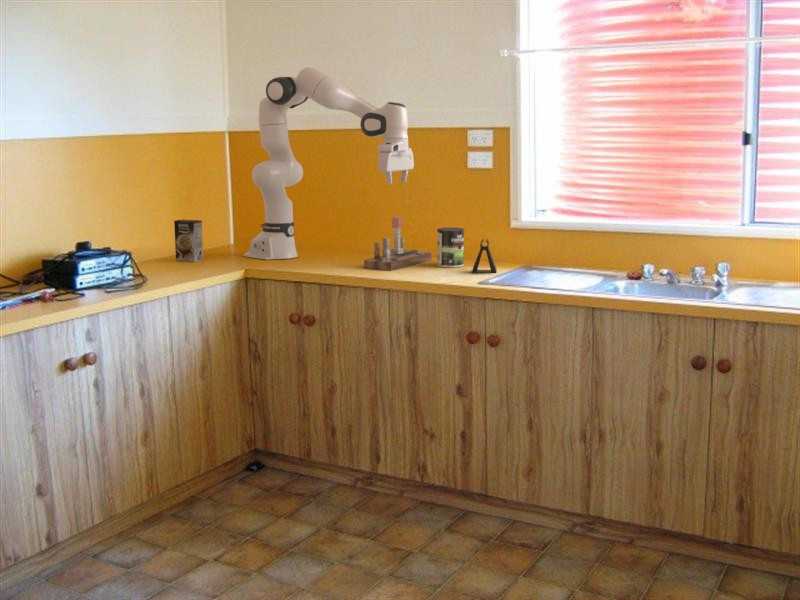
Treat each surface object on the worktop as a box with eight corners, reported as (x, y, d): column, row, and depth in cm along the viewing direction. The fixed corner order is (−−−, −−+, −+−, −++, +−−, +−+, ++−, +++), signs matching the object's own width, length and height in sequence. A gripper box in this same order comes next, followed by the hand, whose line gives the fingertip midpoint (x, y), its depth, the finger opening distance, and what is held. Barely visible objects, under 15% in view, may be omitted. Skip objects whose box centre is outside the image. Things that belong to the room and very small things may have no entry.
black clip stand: (496, 271, 364) (497, 238, 362) (496, 273, 358) (496, 241, 356) (472, 270, 365) (472, 238, 363) (471, 273, 359) (471, 240, 357)
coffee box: (175, 261, 389) (173, 220, 386) (184, 258, 395) (182, 218, 392) (194, 262, 386) (192, 221, 383) (203, 260, 392) (202, 219, 389)
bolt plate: (364, 268, 371) (364, 239, 369) (405, 257, 396) (405, 230, 394) (391, 270, 365) (391, 241, 363) (431, 260, 390) (431, 232, 388)
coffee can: (469, 265, 376) (469, 229, 373) (450, 268, 370) (450, 231, 367) (450, 262, 384) (451, 226, 381) (431, 265, 377) (431, 228, 374)
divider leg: (391, 253, 378) (390, 217, 375) (396, 252, 381) (396, 216, 379) (398, 254, 376) (397, 217, 374) (403, 252, 380) (403, 216, 377)
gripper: (403, 145, 381) (404, 180, 384) (375, 147, 364) (375, 184, 367) (417, 145, 378) (417, 181, 381) (389, 147, 361) (389, 185, 364)
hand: (396, 182), depth 374 cm, fingers open, 8 cm apart
